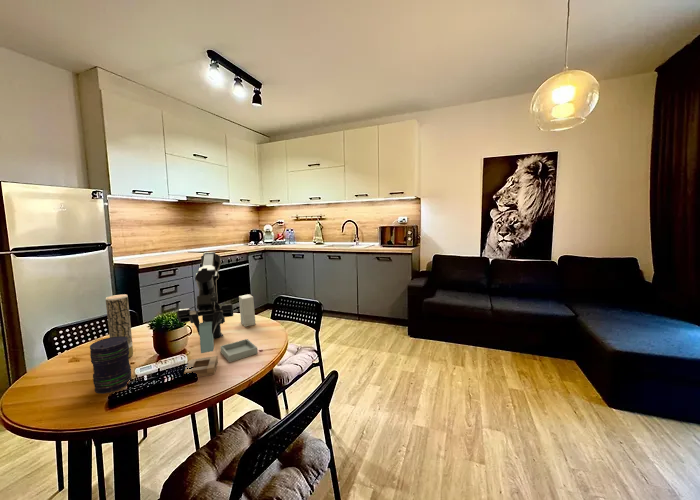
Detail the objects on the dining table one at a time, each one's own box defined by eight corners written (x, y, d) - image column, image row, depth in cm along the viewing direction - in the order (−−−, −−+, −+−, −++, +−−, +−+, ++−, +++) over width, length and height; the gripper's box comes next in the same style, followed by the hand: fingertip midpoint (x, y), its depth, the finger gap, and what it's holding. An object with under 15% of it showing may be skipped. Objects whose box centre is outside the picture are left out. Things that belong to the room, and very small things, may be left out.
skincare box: (255, 324, 151) (254, 296, 149) (243, 327, 147) (242, 298, 146) (251, 320, 158) (250, 293, 156) (239, 322, 154) (238, 295, 153)
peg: (202, 348, 108) (200, 322, 107) (213, 346, 109) (212, 321, 108) (200, 353, 104) (198, 326, 103) (213, 351, 106) (211, 324, 105)
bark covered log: (135, 356, 117) (129, 296, 114) (113, 363, 112) (106, 300, 109) (131, 351, 121) (125, 293, 119) (110, 357, 116) (104, 296, 114)
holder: (190, 365, 109) (190, 359, 109) (217, 361, 112) (217, 355, 111) (184, 379, 100) (183, 372, 100) (214, 374, 103) (213, 367, 102)
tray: (220, 352, 120) (220, 346, 120) (247, 344, 127) (247, 338, 127) (229, 362, 111) (228, 355, 111) (257, 353, 118) (257, 347, 118)
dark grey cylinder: (112, 376, 102) (107, 336, 100) (139, 376, 102) (135, 336, 100) (85, 393, 92) (80, 348, 91) (115, 394, 92) (110, 349, 90)
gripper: (175, 288, 104) (171, 328, 96) (231, 283, 111) (232, 320, 102) (181, 303, 113) (178, 341, 104) (232, 298, 119) (234, 333, 110)
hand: (206, 334), depth 105 cm, fingers closed on peg, 4 cm apart
